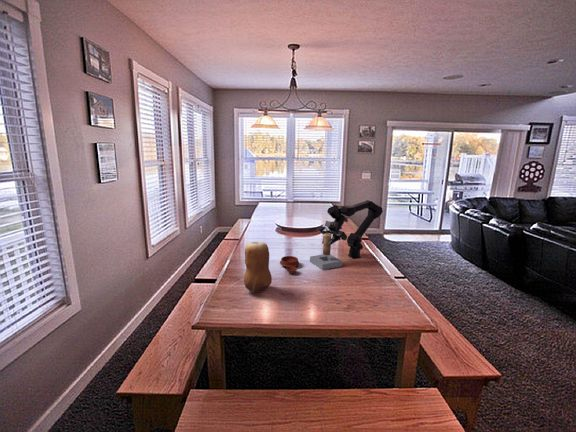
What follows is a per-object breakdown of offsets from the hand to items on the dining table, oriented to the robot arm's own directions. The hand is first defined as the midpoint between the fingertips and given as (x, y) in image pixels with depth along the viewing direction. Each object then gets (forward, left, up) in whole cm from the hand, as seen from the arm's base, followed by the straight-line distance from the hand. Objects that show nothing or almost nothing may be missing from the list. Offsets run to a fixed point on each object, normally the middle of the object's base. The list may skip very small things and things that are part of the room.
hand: (325, 244), depth 176 cm
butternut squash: (+49, +14, -14) cm, 52 cm away
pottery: (+21, -4, -14) cm, 26 cm away
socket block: (-2, -1, -13) cm, 14 cm away
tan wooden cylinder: (-1, 0, -7) cm, 7 cm away
